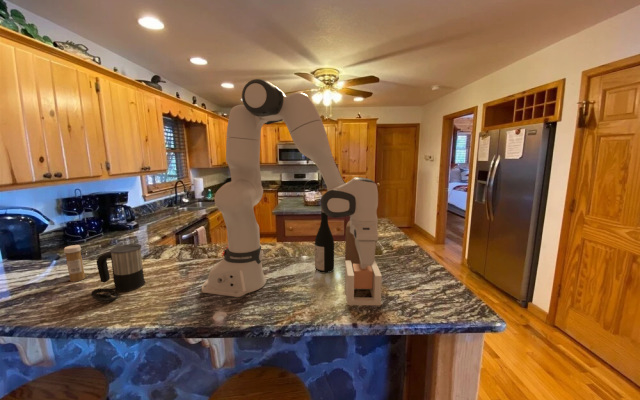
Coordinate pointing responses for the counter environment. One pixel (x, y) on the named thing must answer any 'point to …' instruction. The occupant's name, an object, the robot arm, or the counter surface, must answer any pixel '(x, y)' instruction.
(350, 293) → the chute
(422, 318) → the counter surface
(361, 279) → the block
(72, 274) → the pill bottle
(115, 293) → the milk frother
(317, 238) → the wine bottle
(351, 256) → the wooden block
